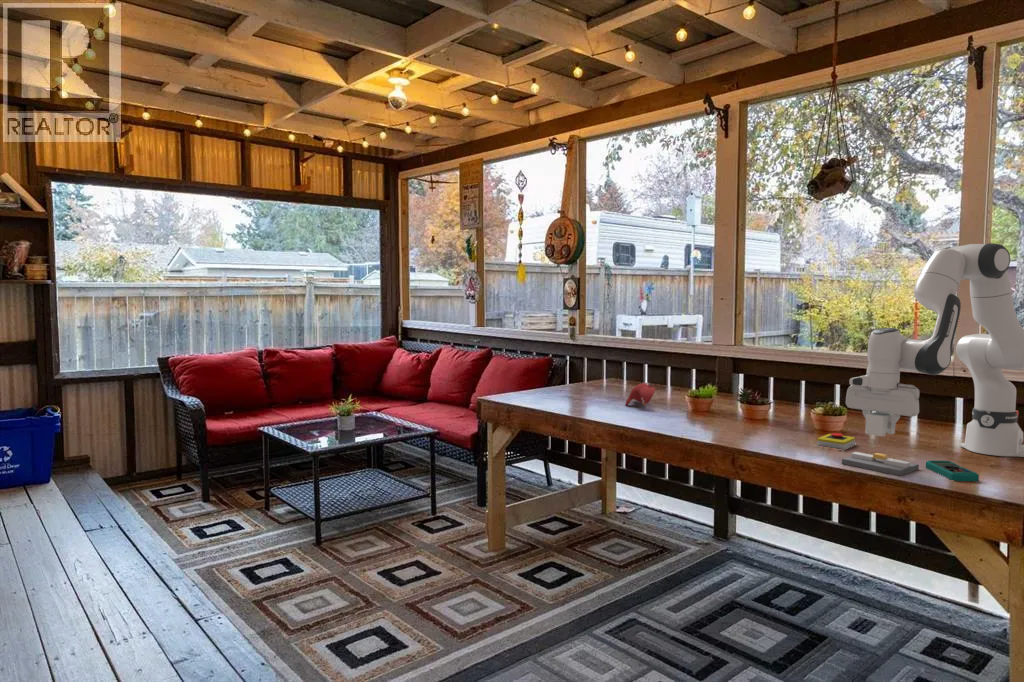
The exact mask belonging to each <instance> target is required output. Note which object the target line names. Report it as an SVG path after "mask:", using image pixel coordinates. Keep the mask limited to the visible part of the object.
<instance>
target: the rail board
mask: <svg viewBox="0 0 1024 682" xmlns="http://www.w3.org/2000/svg"><path fill="white" fill-rule="evenodd" d="M841 464H842V465H846V464H847V465H846V466H851V465H852V466H853V467H857V468H861V469H866V470H871V471H875V472H881V473H885V474H890V475H895V476H899V477H902V476H903V474H904V475H906V474H910V473H912V472H915V471H917V469H918V470H919V466H920V465H919V463H913V462H910V461H905V460H900V459H895V458H889V457H887V459H884V460H881V459H876V458H873V454H870V453H869V454H868V453H864V452H859V451H854V452H851V453H850V456H847V457H844V458H841ZM914 470H915V471H914Z"/></svg>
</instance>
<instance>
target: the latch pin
mask: <svg viewBox="0 0 1024 682" xmlns="http://www.w3.org/2000/svg"><path fill="white" fill-rule="evenodd" d="M872 455H873V458H876V459H881V460H884V459H887V458H888V455H887V454H884V453H880V452H876V453H872Z"/></svg>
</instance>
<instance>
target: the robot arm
mask: <svg viewBox="0 0 1024 682" xmlns="http://www.w3.org/2000/svg"><path fill="white" fill-rule="evenodd" d="M1010 263H1011V255H1010V252H1009V250H1008V249H1007V248H1006V247H1005V246H1004V245H1003V244H999V243H993V242H992V243H991V242H989V243H970V244H969V243H968V244H965V245H963V244H962V245H958V246H953V247H952V246H947V247H943V248H941V249H938V250H936V251H935V252H933V254H932V255H931V256H930V257H929V259H928V260H927V261H926V263H925V264H924V266H923V267H922V270H921V272H920V274H919V275H918V278H917V280H916V282H915V284H914V287H913V295H914V297H915V299H916V301H917V302H918V303H919V304H920V305H922V306H923V307H924V308H926V309H927V310H930V311H932V312H934V313H936V314H937V318H936V321H935V325H934V328H933V332H932V336H931V337H930V338H928V339H925V340H924V339H912V338H909V337H906V336H904V335H903V334H901V332H900V329H898V328H895V327H881V328H877V329H874V330H873V331H871V333H870V335H869V338H868V339H869V340H868V344H867V345H868V346H867V354H866V355H867V356H866V357H867V361H868V364H867V368H866V374H864V375H860V376H856V377H855V376H854V377H851V378H850V379H849V380H848V381H849V385H850V386H848V388H847V390H846V396H845V405H846V407H847V408H848V409H849V408H850V409H854V410H861V411H862V416H863V417H864V419H865V420H866V414H869V413H871V412H882V413H889V414H892V418H894V419H893V420H892V422H889V423H888V428H889V429H895V430H896V423H897V422H898V421H899V419H901V416H903V417H904V416H905V417H912V418H913V417H917V416H918V415H919V413H920V400H919V399H920V388H918V387H917V386H915V385H914V384H906V383H900V379H901V378H900V376H901V370H904V371H908V372H914V373H915V372H916V373H917V372H918V373H921V374H926V375H929V376H930V375H931V376H937V375H939V374H942V373H943V372H944V371H945V370H946V369H948V367H949V366H950V365H951V363H952V362H951V361H952V360H951V359H952V349H953V348H952V347H953V343H954V338H955V335H956V330H957V327H958V323H959V319H960V315H961V307H962V305H961V299H960V297H958V296H957V291H958V289H959V286H960V284H961V282H962V280H964V281H965V280H969V297H970V302H971V303H970V305H971V313H972V318H973V320H974V321H975V323H978V324H979V325H981V326H982V327H983V328H984V329H985V330H986V331H987V333H973V334H968V335H964V336H962V337H961V338H960V339H958V341H957V343H956V346H955V354H956V356H957V359H959V360H960V362H962V363H963V364H964V365H965V366H966V368H967V369H968V371H969V374H970V375H971V378H972V380H973V387H974V407H973V408H972V412H971V414H972V415H971V418H972V420H971V421H969V422H968V423H967V424H966V431H965V439H964V442H960V444H959V447H961V448H964V449H966V450H967V451H970V452H973V453H978V454H982V455H989V456H997V457H998V456H999V457H1020V458H1024V431H1023V430H1022V428H1021V427H1020V425H1019V423H1018V421H1019V420H1018V418H1019V414H1020V413H1019V410H1016V406H1017V404H1016V403H1017V388H1016V386H1015V384H1013V383H1012V382H1011V381H1009V380H1008V379H1007V378H1006V377H1005V375H1004V372H1003V370H1012V371H1022V370H1024V328H1023V326H1022V325H1021V323H1020V321H1019V320H1018V317H1017V314H1016V312H1015V311H1016V310H1015V305H1014V304H1015V303H1014V298H1013V290H1012V283H1011V279H1010V276H1009V272H1008V269H1009V267H1010ZM1002 369H1003V370H1002Z"/></svg>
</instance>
